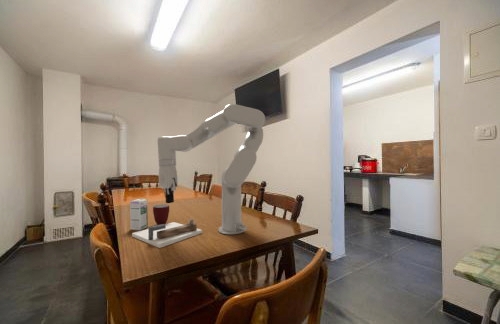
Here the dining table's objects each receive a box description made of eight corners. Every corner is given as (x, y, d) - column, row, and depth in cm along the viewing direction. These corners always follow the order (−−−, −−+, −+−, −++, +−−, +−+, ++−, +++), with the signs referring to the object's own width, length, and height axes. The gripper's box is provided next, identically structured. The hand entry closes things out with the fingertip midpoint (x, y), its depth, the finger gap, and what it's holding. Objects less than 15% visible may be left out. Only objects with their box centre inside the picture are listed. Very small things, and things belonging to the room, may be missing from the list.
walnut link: (192, 227, 108) (192, 217, 108) (198, 229, 105) (198, 219, 105) (155, 236, 95) (155, 225, 95) (161, 239, 91) (161, 228, 91)
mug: (152, 222, 123) (152, 204, 122) (168, 220, 126) (168, 203, 126) (153, 227, 113) (153, 208, 113) (169, 225, 116) (169, 206, 116)
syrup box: (140, 230, 108) (140, 201, 108) (129, 229, 110) (129, 200, 109) (147, 227, 114) (147, 199, 114) (137, 226, 115) (137, 198, 115)
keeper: (163, 235, 97) (163, 223, 97) (165, 236, 95) (165, 225, 95) (147, 239, 93) (147, 227, 93) (149, 240, 91) (149, 228, 91)
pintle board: (201, 233, 105) (202, 229, 105) (159, 248, 87) (159, 244, 87) (173, 224, 118) (173, 222, 118) (131, 236, 100) (131, 233, 100)
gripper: (152, 163, 105) (155, 202, 105) (167, 163, 94) (169, 206, 95) (167, 163, 110) (170, 199, 110) (183, 162, 100) (185, 202, 100)
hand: (169, 202), depth 103 cm, fingers closed
